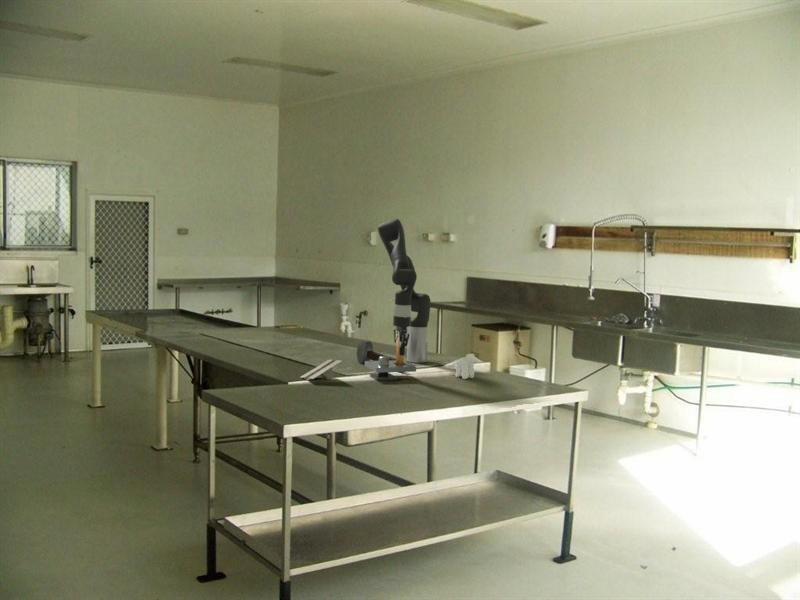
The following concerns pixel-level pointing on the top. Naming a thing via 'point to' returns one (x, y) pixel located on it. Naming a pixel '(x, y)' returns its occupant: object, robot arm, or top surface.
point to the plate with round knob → (387, 368)
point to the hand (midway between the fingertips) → (400, 354)
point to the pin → (398, 357)
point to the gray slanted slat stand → (322, 370)
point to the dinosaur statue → (464, 366)
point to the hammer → (368, 352)
